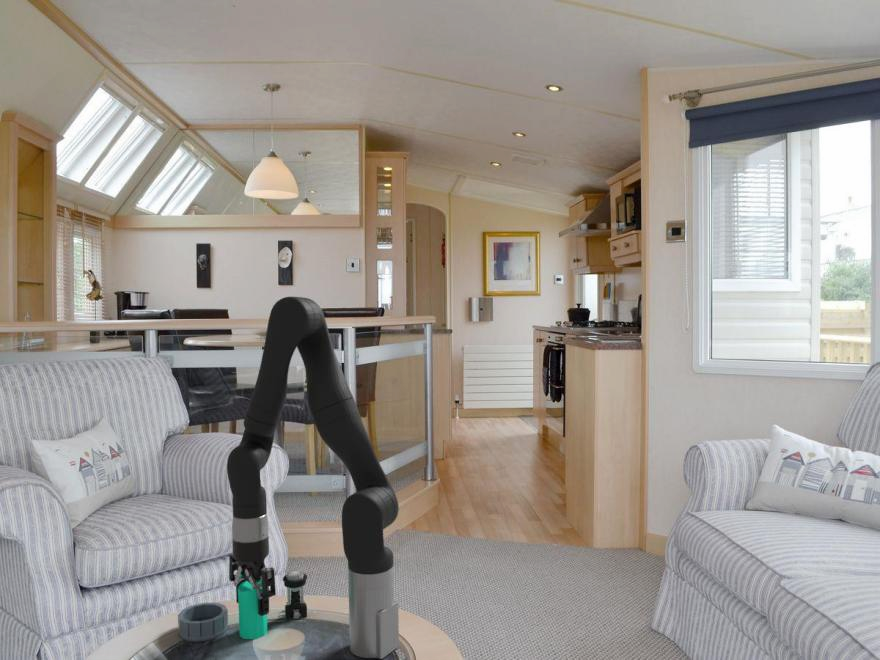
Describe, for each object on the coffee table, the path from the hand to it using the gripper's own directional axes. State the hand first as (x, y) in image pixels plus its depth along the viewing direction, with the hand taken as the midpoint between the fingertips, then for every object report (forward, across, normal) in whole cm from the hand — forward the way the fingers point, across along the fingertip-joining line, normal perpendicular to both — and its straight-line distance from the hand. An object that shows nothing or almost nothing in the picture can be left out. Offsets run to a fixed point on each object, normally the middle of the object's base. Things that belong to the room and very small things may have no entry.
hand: (252, 608), depth 162 cm
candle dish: (+5, +9, +7) cm, 12 cm away
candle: (+6, 0, 0) cm, 6 cm away
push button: (+6, 0, -10) cm, 12 cm away
